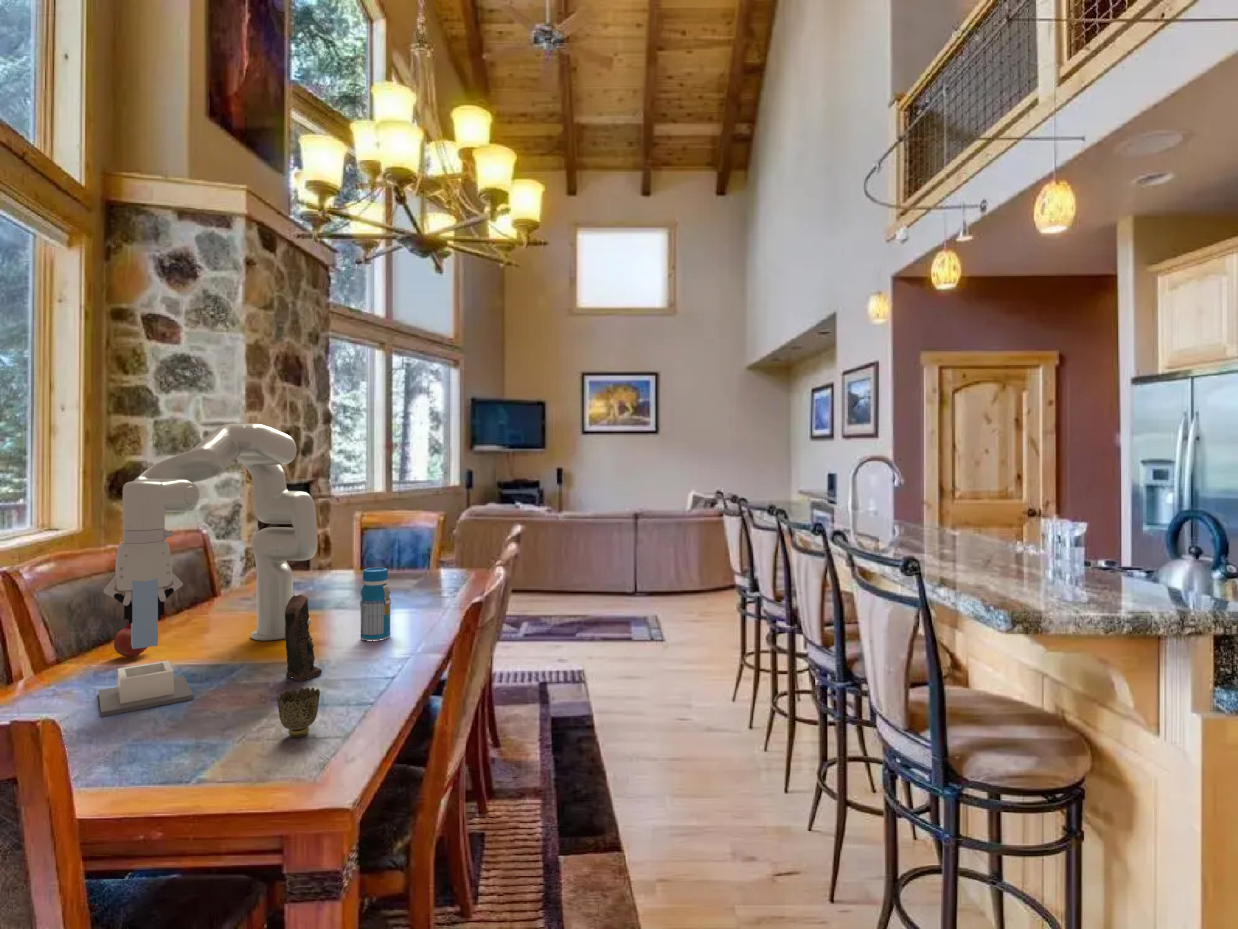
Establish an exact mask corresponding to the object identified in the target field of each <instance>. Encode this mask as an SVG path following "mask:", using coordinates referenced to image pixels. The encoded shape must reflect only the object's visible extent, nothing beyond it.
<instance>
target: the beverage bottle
mask: <svg viewBox="0 0 1238 929" xmlns="http://www.w3.org/2000/svg"><path fill="white" fill-rule="evenodd" d="M388 575H389V571H388V568H386V567H368V568H365V569H363V571H362V580H363V582H364V584H363V586H362V588H361V590H360V596H361V598H360V600H359V606H360V609H359V610H360V639H361V640H362V639H363V640H362V641H364V640H372V641H371V642H374V641H373V640H380V639H385V638H387V639H389V638H390V637H391V604H392V598H391V597H390V595H391V588H390V587H389V584H387V582H386V581H388V578H389V576H388ZM385 640H386V639H385Z"/></svg>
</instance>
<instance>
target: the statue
mask: <svg viewBox="0 0 1238 929" xmlns="http://www.w3.org/2000/svg"><path fill="white" fill-rule="evenodd" d="M308 600H309V598H308V596H306V595H305V594H303V595H302V594H298V595H294V594H293V596H292V598H291V599H290V600H289V602H288V604H287V606H286V610H285V638H284V641H285V650H286V663H287V666H286V667H287V668H286V670H287V671H286V675H285V677H286V678H287V677H293V678H295V679H296V680H295V679H294V680H295V681H297V680H298V681H297V682H304V681H307V680H309V679H308V678H310V679H312V678H311V677H313V676H315V677H317V676H316V675H318V676H319V675H322V672H323V670H322V668H320V667H317V666H315V665H314V663H315V659H316V656H315V653H314V652H315V651H314V646H315V644H314V642H313V640H314V639H313V637H312V636H311V634H310V631H309V628H310V625H309V624H308V620H309V618H310V613H309V611H310V610H309V604H308V603H309V602H308ZM313 678H314V677H313ZM306 679H307V680H306ZM303 680H304V681H303Z"/></svg>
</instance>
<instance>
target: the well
mask: <svg viewBox="0 0 1238 929" xmlns="http://www.w3.org/2000/svg"><path fill="white" fill-rule="evenodd" d="M174 673H175V672H174V669H173V667H172V666H171V662H170V661H169V660H163V661H157V662H152V663H145V664H138V665H133V666H132V665H131V666H126V667H119V668H117V687H110V688H106V689H105V688H104V689H100V690H99V689H98V691H97V692H98V700H99V702H98V703H99V710H100V715H101V716H100V717H101V718H102V717H103V718H104V717H108V716H113V715H119V714H122V713H123V712H125V713H129V711H130V712H134V711H139V710H145V709H149V708H150V707H151V708H155V707H154V706H156V707H160V706H159V705H161V706H166V705H170V704H175V703H181V701H182V702H185V701H186V700H187V701H191V699H192V700H194V692H193V691H192V689H191V687H190V685H189V683H188V681H187V678H186V677H185V675H179V676H175V677H174ZM187 701H186V702H187Z"/></svg>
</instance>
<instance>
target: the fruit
mask: <svg viewBox="0 0 1238 929" xmlns="http://www.w3.org/2000/svg"><path fill="white" fill-rule="evenodd" d="M113 642H114V643H113V646H114V651H115V652H116V653H117V654H119V655H120V656H123V657H127V658H129V657H130V658H134V657H133V656H135V657H137V656H139V655H140V654H142V653H144V651H146V650H147V649H148V648H149V647H144V648H137V649H132V646H131V624H128V620H126V626H125V627H124V628H122V629H120V630H119V631H118V632H117V633H116V635H115V636H114V640H113Z"/></svg>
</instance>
